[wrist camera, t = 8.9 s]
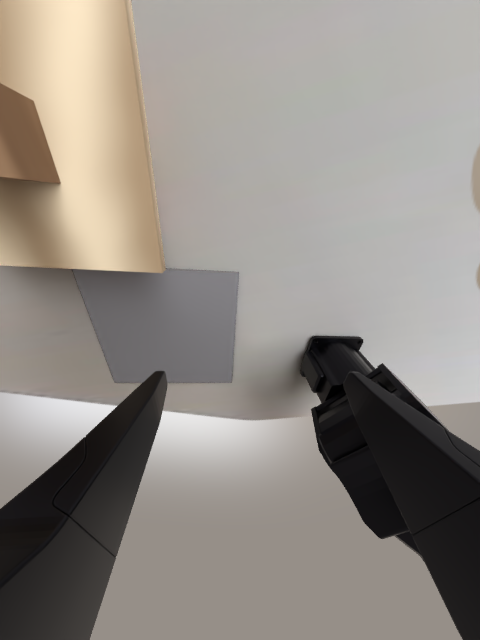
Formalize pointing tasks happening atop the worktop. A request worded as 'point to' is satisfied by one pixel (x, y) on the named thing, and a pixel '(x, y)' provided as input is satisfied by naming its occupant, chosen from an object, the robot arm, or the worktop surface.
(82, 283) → the mat
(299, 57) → the worktop surface
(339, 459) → the robot arm
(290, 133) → the worktop surface
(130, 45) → the lid
